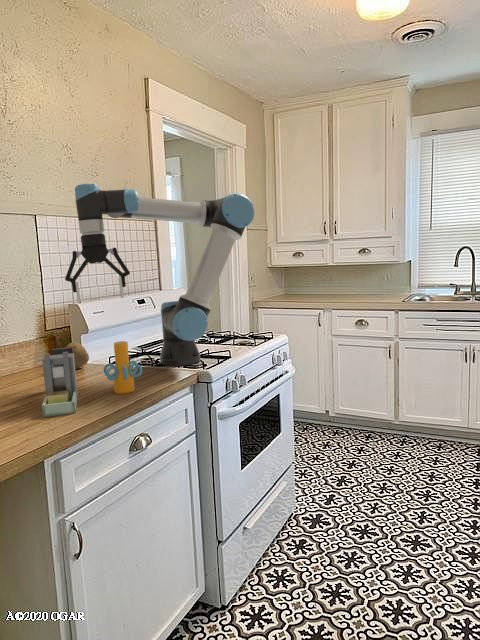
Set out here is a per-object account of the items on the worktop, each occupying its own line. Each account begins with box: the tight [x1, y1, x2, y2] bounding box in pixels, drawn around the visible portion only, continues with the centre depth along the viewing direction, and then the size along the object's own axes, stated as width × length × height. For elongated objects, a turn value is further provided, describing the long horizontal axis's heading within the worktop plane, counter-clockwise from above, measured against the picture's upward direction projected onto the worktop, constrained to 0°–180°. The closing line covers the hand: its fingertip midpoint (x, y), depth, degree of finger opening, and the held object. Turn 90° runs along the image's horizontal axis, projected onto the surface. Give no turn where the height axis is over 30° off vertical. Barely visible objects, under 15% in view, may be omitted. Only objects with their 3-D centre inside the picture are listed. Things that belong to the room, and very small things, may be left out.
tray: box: [41, 392, 78, 418], centre depth 133 cm, size 8×11×3 cm
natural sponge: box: [64, 341, 90, 370], centre depth 183 cm, size 9×9×10 cm
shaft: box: [51, 347, 73, 378], centre depth 146 cm, size 6×22×6 cm, turn 16°
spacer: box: [47, 390, 70, 404], centre depth 133 cm, size 5×4×4 cm
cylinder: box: [103, 340, 143, 395], centre depth 147 cm, size 12×10×15 cm
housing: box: [42, 352, 79, 402], centre depth 139 cm, size 8×9×15 cm
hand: (101, 299), depth 161 cm, fingers open, 13 cm apart
